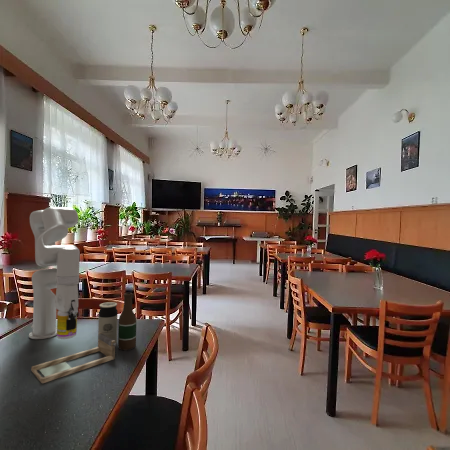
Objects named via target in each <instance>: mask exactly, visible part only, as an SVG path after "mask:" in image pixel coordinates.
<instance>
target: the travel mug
mask: <svg viewBox="0 0 450 450" xmlns="http://www.w3.org/2000/svg"><path fill="white" fill-rule="evenodd" d="M117 305H118V303H117V302H112V301H111V302H110V301H109V302H108V301H107V302H103V303H100V304H99V308H100V309H99V311H98V325H97V326H98V330H97V333H102V334H104V335H106V336H107V337H109V338H111V339H112V340H115V343H116V344H118V315H119V314H118V309H117Z"/></svg>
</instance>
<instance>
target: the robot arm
mask: <svg viewBox="0 0 450 450" xmlns="http://www.w3.org/2000/svg"><path fill="white" fill-rule="evenodd" d="M78 222H79V213H78V212H77V210H76V209H75V208H73V207H63V206H50V207H46V208H45V209H40V210H33V211H32V212H31V213H30V215H29V226H30V228H31V229H30V230H31V231H32V234H33V236H34V252H35V253H34V258H35V264H36V265H37V266H39V267H55V266H56V268H44V269H43V268H42V269H38V270H36V271H34V272H33V273H32V275H31V284H32V292H33V293H32V295H33V305H32V307H33V308H32V309H33V311H32V312H33V313H32V315H33V316H32V318H33V319H32V325H30V328H31V329H32V331H31V332H29V334H28V338H30V339H32V340H44V339H50V338H53V337H55V336H56V337H57V310H58V311H59V310H60V311H62V312H63V313H66V312H67V318H68V319H67V320H66V330H67V331H68V330H72V329H75V328H76V318H77V319H78V313H79V309H78V308H79V288H78V287H79V284H80V255H81V253H80V249H79V248H78V247H77V245H72V244H70V245H68V244H66V245H61V244H59V245H58V244H57V245H56V242H59V241H61V240H63V239H65V238H66V237H67V236H68V234H69V229H70V228H73V227H75V226H77V224H78ZM52 289H55V290H56V291H55V293H54V292H53V291H52ZM69 309H72V310H71V311H69ZM71 312H72V313H71ZM70 313H71V315H70ZM76 316H77V317H76Z"/></svg>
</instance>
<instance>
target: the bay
mask: <svg viewBox="0 0 450 450" xmlns="http://www.w3.org/2000/svg"><path fill="white" fill-rule="evenodd" d="M97 333H98V332H97ZM97 344H98V345H97V346H96V347H93V348H90V349H86V350H83V351H79V352H77V353H76V352H75V353H72V354H70V355H66V356H63V357H59V358H56V359H53V360H50V361H46V362H45V361H44V362H42V363H39V364H36V365H31V369H30V371H31V372H32V373H33V375H34V376H35V377H36V378H37V380H38V381H39V382H40V383H41V384H45V383H49V382H51V381H54V380H57V379H59V378H63V377H65V376H69V375H71V374H74V373H77V372H80V371H84V370H86V369H89V368H92V367H95V366H98V365H101V364H104V363H106V362H110V361H112V360H115V359H116V353H115V352H116V347H117V343H115V340H112V339H111V338H109V337H107V336H106V335H104V334H102V333H98V335H97ZM98 352H100V353H102V354H103V355H105V356H104V357H101V358H98V359H95V360H92V361H88V362H85V363H83V364H79V365H76V366H73V367H72V366H71V365H70V364H68V362H69V361H72V360H76V359H78V358H81V357H82V358H83V357H85V356H87V355H91V354H94V353H98ZM38 371H39V372H38ZM40 373H41V374H40ZM41 375H43V376H41Z"/></svg>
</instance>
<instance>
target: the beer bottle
mask: <svg viewBox="0 0 450 450" xmlns="http://www.w3.org/2000/svg"><path fill="white" fill-rule="evenodd" d="M123 297H124V298H123V299H124V300H123V308H122V311H121V313H120V315H119V318H118V326H117V347H118V349H119V350H121V351H128V350H129V351H130V350H132V349H134V348H136V346H137V316H136V314H135V313H134V310H133V293H132V292H125V293H124V294H123Z"/></svg>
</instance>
